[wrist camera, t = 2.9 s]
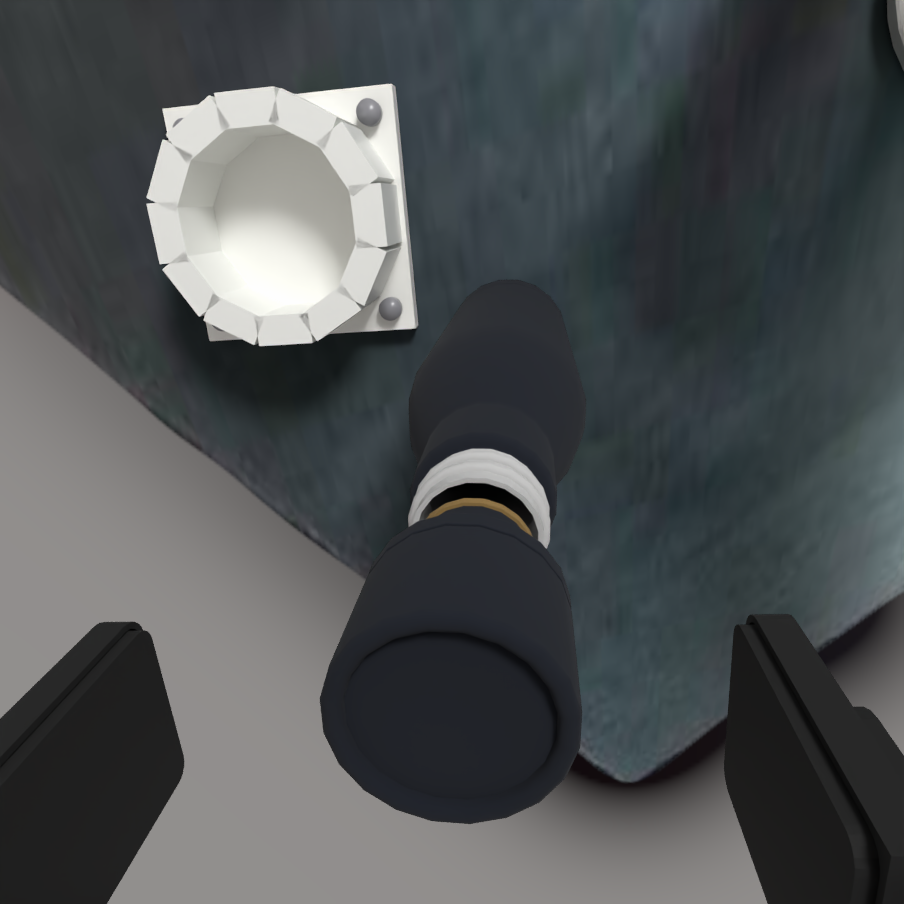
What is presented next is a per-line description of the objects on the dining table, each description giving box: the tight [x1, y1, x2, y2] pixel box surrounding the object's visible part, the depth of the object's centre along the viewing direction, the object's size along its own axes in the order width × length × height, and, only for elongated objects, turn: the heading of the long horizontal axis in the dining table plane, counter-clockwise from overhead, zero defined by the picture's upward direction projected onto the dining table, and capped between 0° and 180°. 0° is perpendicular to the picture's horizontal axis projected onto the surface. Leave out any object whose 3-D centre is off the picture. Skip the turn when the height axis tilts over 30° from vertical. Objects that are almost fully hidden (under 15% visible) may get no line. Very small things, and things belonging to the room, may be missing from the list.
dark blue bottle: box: [320, 280, 586, 824], centre depth 24 cm, size 6×6×30 cm
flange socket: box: [147, 84, 418, 346], centre depth 34 cm, size 12×12×5 cm
